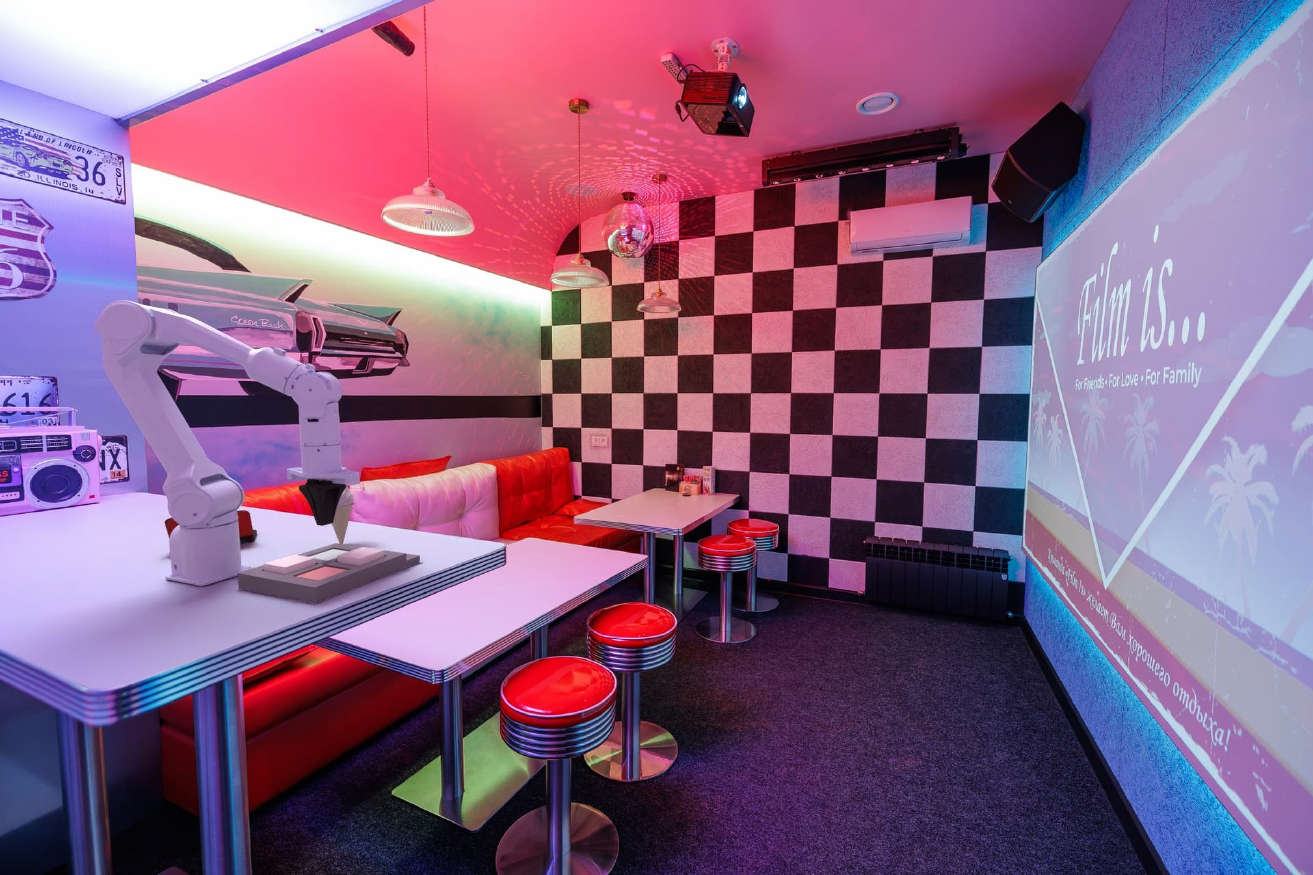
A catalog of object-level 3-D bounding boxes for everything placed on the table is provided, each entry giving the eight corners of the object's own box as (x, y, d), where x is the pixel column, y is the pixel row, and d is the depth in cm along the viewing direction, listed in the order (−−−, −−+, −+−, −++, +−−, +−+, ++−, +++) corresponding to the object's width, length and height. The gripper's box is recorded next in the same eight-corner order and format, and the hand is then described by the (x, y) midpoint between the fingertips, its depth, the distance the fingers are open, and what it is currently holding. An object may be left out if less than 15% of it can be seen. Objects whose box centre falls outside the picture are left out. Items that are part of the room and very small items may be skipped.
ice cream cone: (346, 548, 102) (342, 471, 101) (320, 548, 102) (315, 471, 101) (361, 540, 107) (357, 467, 106) (336, 540, 107) (332, 467, 106)
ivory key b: (337, 562, 87) (337, 555, 87) (362, 553, 92) (362, 547, 92) (359, 565, 86) (359, 558, 86) (384, 556, 90) (383, 550, 90)
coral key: (296, 583, 81) (295, 576, 81) (325, 573, 85) (325, 566, 85) (319, 588, 79) (318, 580, 79) (347, 577, 84) (347, 570, 84)
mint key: (307, 564, 90) (307, 557, 90) (333, 555, 94) (333, 549, 94) (328, 567, 88) (327, 560, 88) (353, 558, 93) (353, 552, 93)
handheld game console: (258, 534, 113) (255, 499, 112) (252, 547, 104) (249, 509, 103) (179, 543, 106) (176, 506, 106) (166, 558, 97) (163, 518, 97)
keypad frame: (238, 588, 82) (237, 572, 82) (350, 551, 100) (350, 538, 100) (316, 604, 76) (314, 587, 76) (420, 562, 95) (419, 548, 94)
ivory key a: (264, 571, 83) (263, 563, 83) (294, 561, 88) (294, 554, 88) (285, 574, 82) (285, 567, 81) (315, 565, 86) (314, 557, 86)
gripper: (373, 444, 91) (377, 522, 92) (312, 440, 96) (316, 514, 97) (335, 448, 84) (340, 532, 85) (272, 444, 89) (277, 524, 90)
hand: (325, 524), depth 91 cm, fingers closed
